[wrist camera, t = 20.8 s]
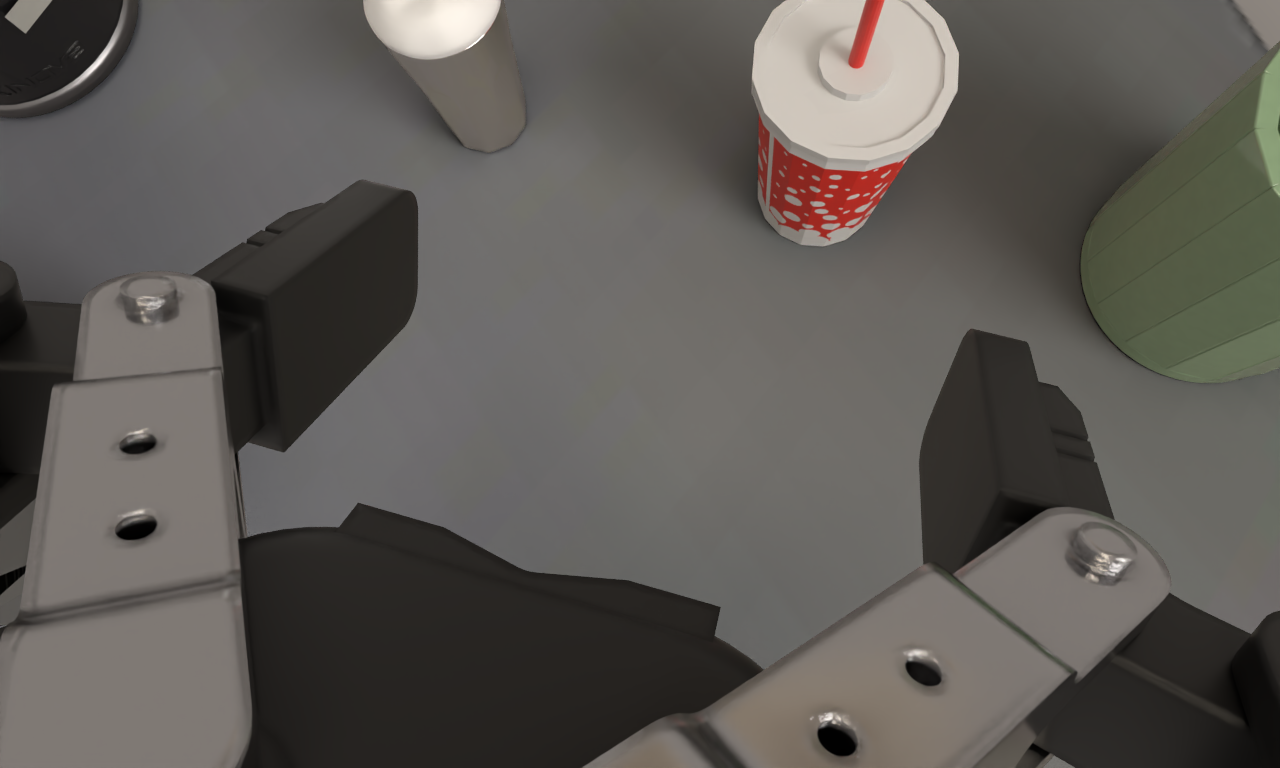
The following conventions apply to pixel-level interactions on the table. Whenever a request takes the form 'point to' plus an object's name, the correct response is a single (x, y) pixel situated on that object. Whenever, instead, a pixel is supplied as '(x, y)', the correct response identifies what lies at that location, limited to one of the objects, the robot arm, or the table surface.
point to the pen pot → (1198, 243)
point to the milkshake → (458, 63)
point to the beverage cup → (844, 107)
